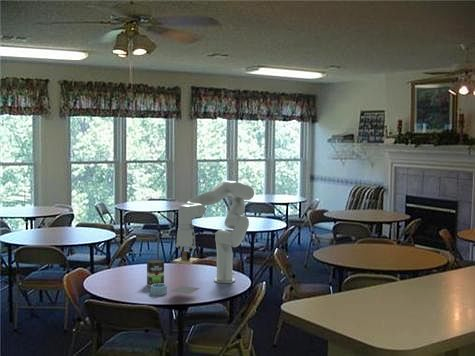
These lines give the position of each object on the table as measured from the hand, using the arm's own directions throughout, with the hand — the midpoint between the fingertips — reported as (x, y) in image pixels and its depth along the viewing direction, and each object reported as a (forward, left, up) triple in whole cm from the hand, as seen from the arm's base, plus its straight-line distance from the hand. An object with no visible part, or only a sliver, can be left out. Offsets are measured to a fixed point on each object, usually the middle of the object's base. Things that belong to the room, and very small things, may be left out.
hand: (185, 258), depth 321 cm
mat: (0, 0, -18) cm, 18 cm away
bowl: (+12, -10, -18) cm, 24 cm away
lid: (0, 0, -2) cm, 2 cm away
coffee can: (-3, -22, -19) cm, 29 cm away
